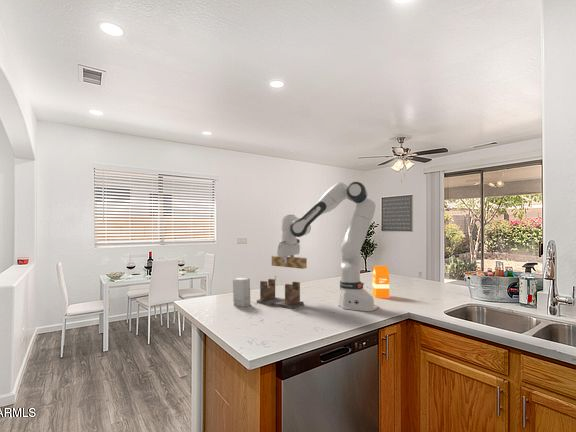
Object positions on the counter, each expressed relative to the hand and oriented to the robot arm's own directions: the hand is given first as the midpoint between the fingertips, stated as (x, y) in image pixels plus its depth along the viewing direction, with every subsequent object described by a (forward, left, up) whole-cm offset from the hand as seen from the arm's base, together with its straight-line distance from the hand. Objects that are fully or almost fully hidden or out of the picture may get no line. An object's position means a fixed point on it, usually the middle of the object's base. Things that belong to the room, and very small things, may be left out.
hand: (288, 262), depth 198 cm
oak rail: (0, 0, -2) cm, 2 cm away
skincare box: (+17, +25, -24) cm, 38 cm away
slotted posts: (0, +10, -23) cm, 25 cm away
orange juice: (-45, -41, -24) cm, 65 cm away
